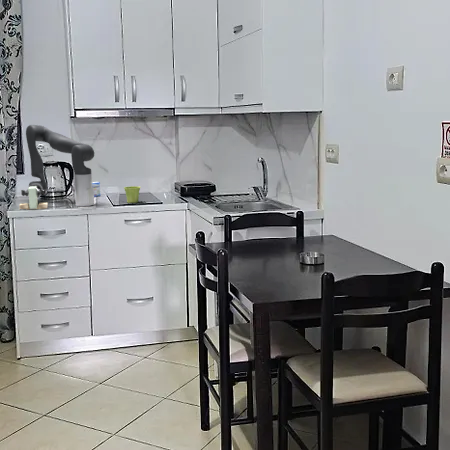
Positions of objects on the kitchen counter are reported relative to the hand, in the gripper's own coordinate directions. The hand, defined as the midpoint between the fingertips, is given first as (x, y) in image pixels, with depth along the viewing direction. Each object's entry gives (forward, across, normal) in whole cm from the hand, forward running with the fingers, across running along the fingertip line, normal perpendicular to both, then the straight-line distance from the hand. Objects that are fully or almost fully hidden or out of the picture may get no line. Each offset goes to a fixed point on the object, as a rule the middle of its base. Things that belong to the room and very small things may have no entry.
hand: (32, 194), depth 356 cm
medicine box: (-45, +31, +8) cm, 55 cm away
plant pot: (-11, +53, +8) cm, 55 cm away
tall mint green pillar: (-3, 0, +8) cm, 8 cm away
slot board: (-3, 0, +8) cm, 8 cm away
